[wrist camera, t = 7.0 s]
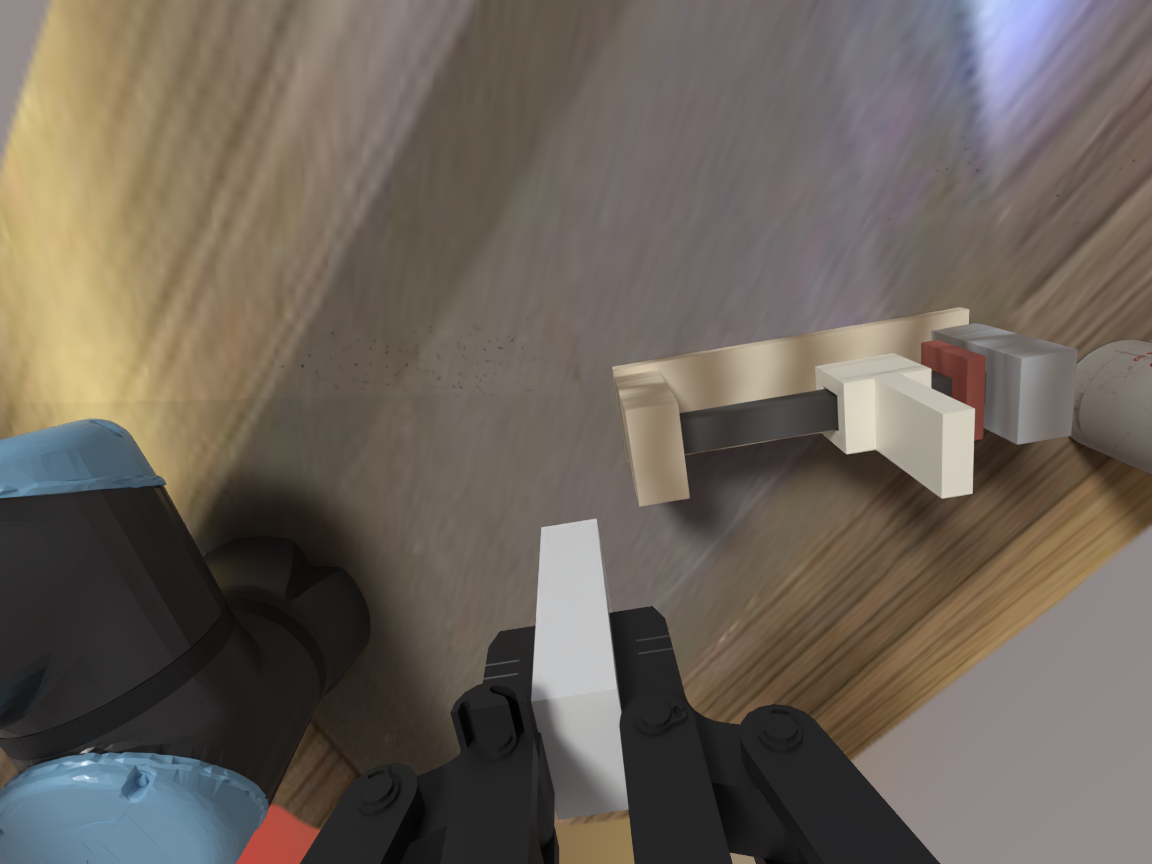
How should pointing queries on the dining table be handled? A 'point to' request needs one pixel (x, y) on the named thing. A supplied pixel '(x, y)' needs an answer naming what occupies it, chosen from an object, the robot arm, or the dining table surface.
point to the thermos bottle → (1116, 402)
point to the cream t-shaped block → (902, 420)
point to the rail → (738, 386)
